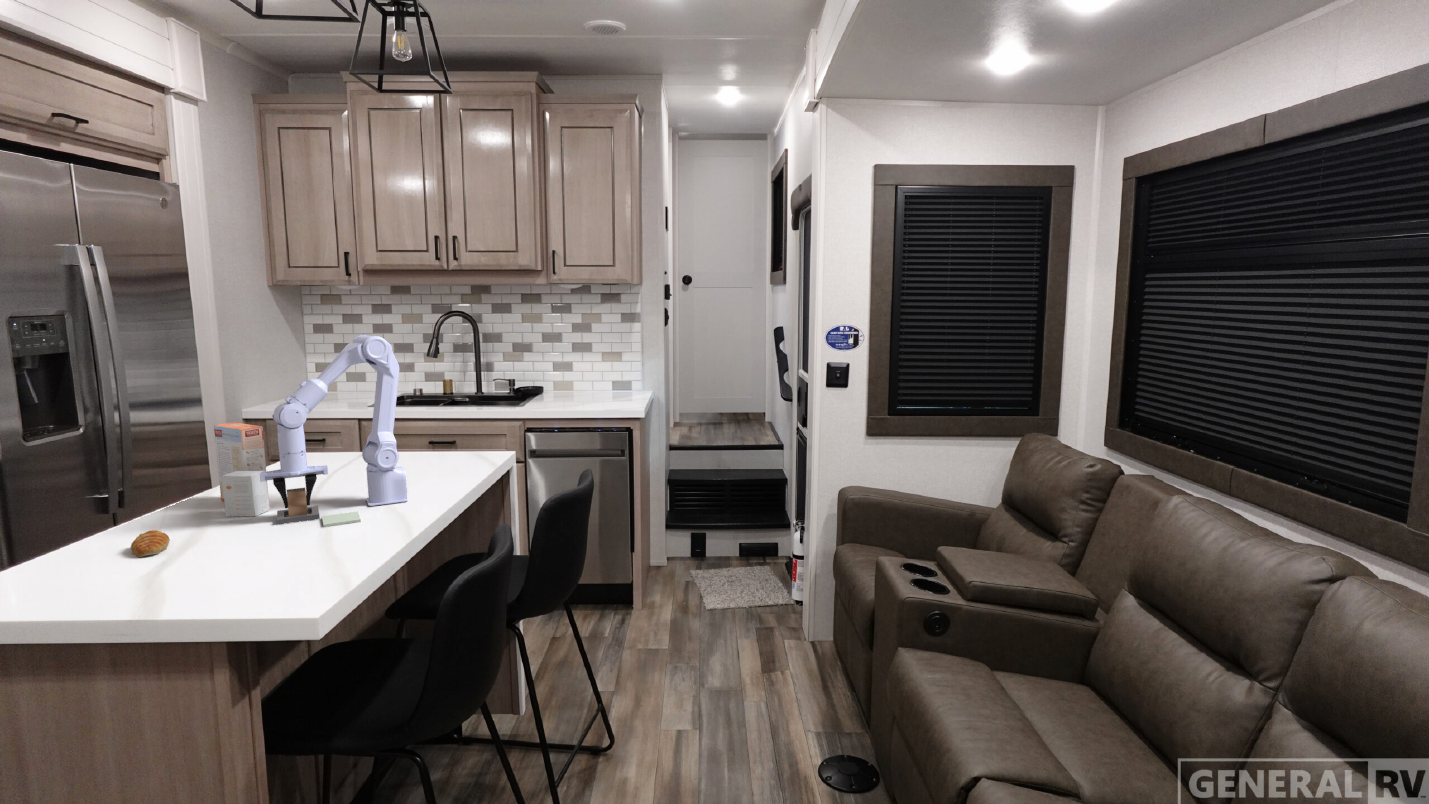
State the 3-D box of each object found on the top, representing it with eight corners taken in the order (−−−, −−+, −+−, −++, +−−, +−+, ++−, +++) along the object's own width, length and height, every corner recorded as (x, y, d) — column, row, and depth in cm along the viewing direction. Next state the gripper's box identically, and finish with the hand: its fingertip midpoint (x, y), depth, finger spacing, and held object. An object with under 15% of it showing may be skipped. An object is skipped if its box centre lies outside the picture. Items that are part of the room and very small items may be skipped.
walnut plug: (307, 510, 187) (305, 487, 187) (307, 514, 184) (305, 490, 183) (288, 513, 185) (286, 489, 185) (289, 517, 182) (286, 493, 181)
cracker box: (271, 503, 198) (263, 425, 195) (246, 508, 193) (239, 429, 190) (244, 495, 206) (236, 421, 203) (220, 501, 201) (212, 424, 198)
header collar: (318, 509, 191) (317, 505, 191) (319, 518, 184) (319, 514, 184) (277, 515, 187) (277, 510, 187) (277, 524, 179) (277, 519, 179)
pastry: (168, 555, 159) (166, 537, 159) (128, 561, 156) (126, 544, 155) (170, 543, 167) (168, 526, 166) (132, 549, 163) (130, 532, 163)
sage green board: (357, 513, 188) (357, 511, 188) (360, 521, 181) (360, 519, 181) (322, 518, 184) (321, 516, 184) (323, 527, 177) (323, 524, 177)
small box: (270, 510, 191) (266, 470, 190) (255, 517, 186) (251, 475, 184) (241, 510, 192) (237, 470, 191) (225, 516, 187) (220, 475, 185)
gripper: (257, 458, 175) (262, 514, 177) (326, 451, 183) (331, 505, 185) (258, 452, 182) (263, 507, 183) (325, 446, 189) (329, 498, 191)
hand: (297, 505), depth 184 cm, fingers closed on walnut plug, 4 cm apart
